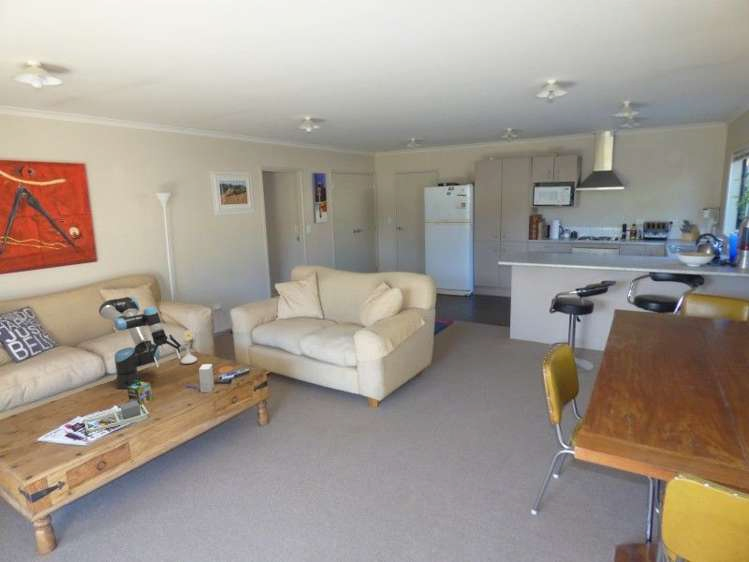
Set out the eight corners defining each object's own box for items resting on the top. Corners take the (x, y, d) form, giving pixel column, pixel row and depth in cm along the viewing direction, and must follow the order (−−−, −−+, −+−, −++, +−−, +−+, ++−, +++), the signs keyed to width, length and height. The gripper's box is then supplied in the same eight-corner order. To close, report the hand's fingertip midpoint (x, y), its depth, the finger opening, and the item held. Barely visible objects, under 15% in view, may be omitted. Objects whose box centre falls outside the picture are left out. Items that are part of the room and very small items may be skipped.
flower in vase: (177, 364, 332) (173, 331, 328) (188, 359, 343) (184, 326, 338) (191, 366, 328) (188, 332, 323) (202, 360, 338) (199, 328, 334)
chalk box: (153, 401, 273) (150, 377, 270) (140, 407, 264) (136, 383, 262) (142, 398, 276) (139, 375, 274) (129, 405, 268) (125, 381, 265)
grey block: (124, 421, 246) (123, 409, 245) (122, 416, 253) (120, 404, 251) (141, 417, 251) (139, 405, 250) (138, 411, 257) (136, 400, 256)
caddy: (87, 436, 233) (87, 431, 233) (84, 425, 245) (83, 420, 245) (149, 418, 251) (149, 413, 250) (143, 409, 262) (143, 404, 262)
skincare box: (204, 387, 290) (201, 364, 287) (215, 386, 291) (212, 363, 288) (200, 393, 282) (198, 369, 279) (211, 392, 283) (209, 368, 280)
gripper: (137, 337, 277) (149, 370, 277) (178, 323, 293) (189, 355, 293) (135, 338, 283) (146, 370, 283) (175, 325, 299) (186, 356, 299)
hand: (168, 362), depth 288 cm, fingers open, 13 cm apart
